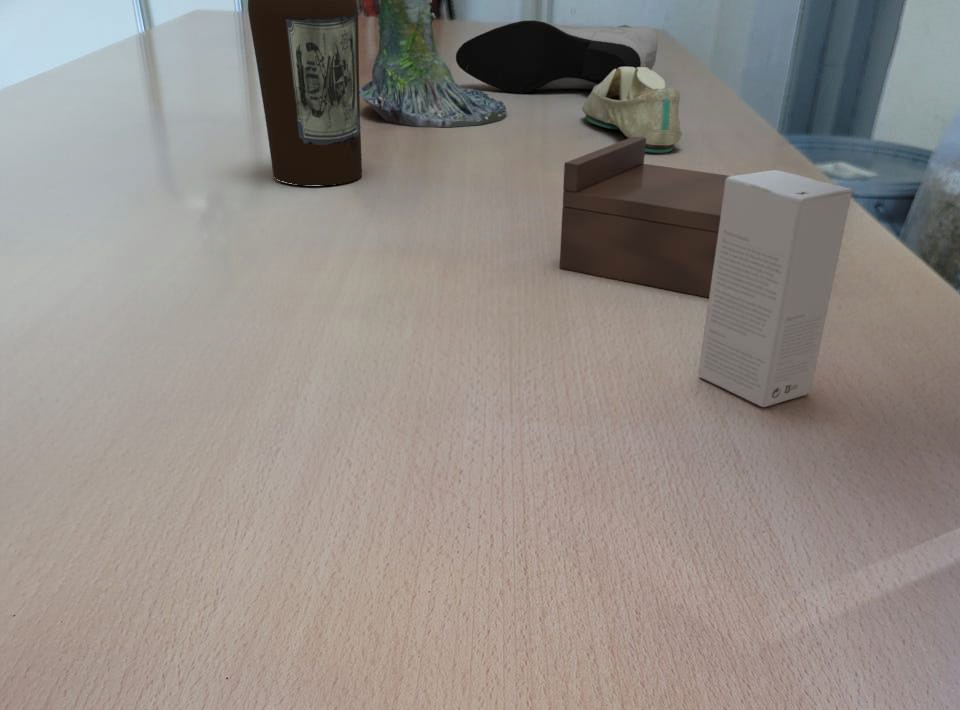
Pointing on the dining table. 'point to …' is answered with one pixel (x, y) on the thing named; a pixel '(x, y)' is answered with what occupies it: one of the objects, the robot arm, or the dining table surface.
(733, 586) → the dining table surface
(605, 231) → the shelf
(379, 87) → the tree stump
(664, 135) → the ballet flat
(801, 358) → the cosmetic box
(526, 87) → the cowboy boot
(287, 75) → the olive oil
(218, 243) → the dining table surface
